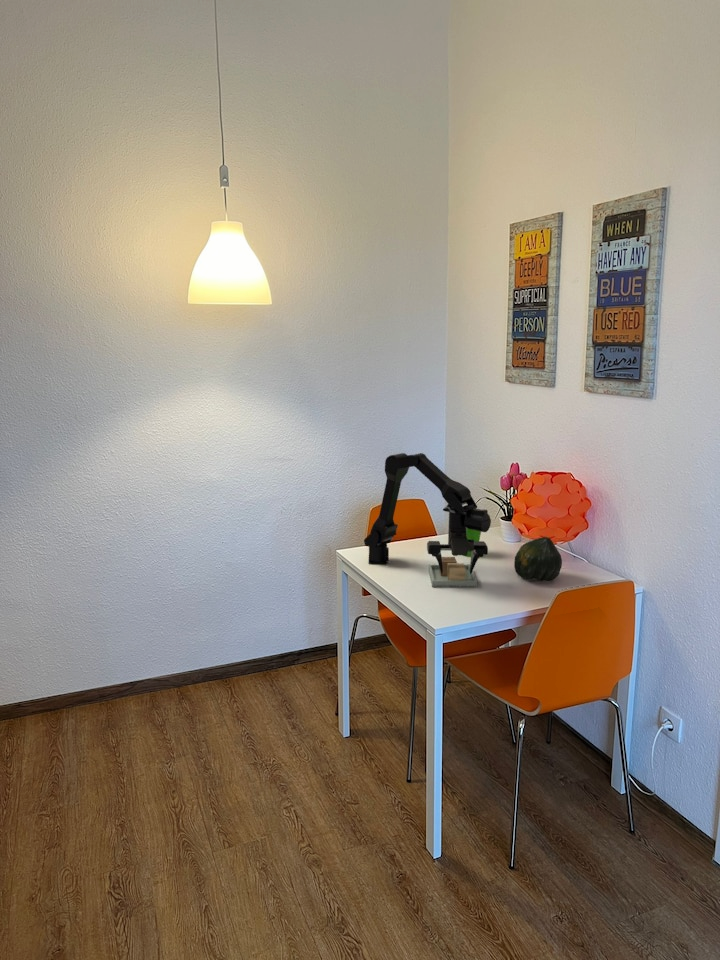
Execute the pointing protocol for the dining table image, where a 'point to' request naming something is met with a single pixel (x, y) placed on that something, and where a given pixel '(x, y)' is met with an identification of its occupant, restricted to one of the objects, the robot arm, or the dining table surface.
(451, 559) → the walnut block
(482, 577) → the dining table surface
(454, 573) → the oak block
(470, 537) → the cup
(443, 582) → the tray
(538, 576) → the squash
